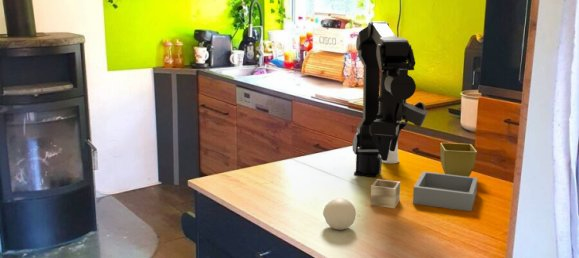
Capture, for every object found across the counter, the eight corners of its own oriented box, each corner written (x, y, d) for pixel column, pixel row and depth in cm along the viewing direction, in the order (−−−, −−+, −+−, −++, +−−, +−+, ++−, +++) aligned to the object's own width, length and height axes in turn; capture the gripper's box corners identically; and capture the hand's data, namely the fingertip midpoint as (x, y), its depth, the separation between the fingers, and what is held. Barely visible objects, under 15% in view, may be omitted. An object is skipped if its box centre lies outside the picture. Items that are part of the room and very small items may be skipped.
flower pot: (468, 173, 175) (471, 143, 173) (474, 183, 166) (477, 151, 164) (437, 172, 176) (439, 142, 174) (442, 181, 167) (444, 150, 165)
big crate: (412, 203, 150) (413, 186, 149) (422, 186, 163) (423, 171, 162) (471, 211, 145) (472, 194, 144) (476, 193, 158) (477, 177, 157)
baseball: (334, 219, 139) (334, 191, 138) (360, 227, 135) (361, 199, 133) (316, 228, 134) (316, 199, 133) (343, 236, 130) (344, 207, 128)
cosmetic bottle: (378, 157, 190) (381, 88, 185) (398, 158, 189) (402, 89, 184) (379, 163, 184) (382, 91, 179) (399, 164, 183) (403, 92, 178)
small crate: (370, 205, 149) (371, 186, 148) (375, 197, 154) (376, 179, 153) (394, 208, 147) (395, 189, 146) (399, 200, 152) (400, 181, 151)
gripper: (419, 101, 133) (415, 169, 136) (431, 88, 150) (427, 149, 153) (370, 97, 137) (367, 164, 140) (387, 86, 154) (384, 145, 157)
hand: (388, 155), depth 148 cm, fingers open, 9 cm apart
